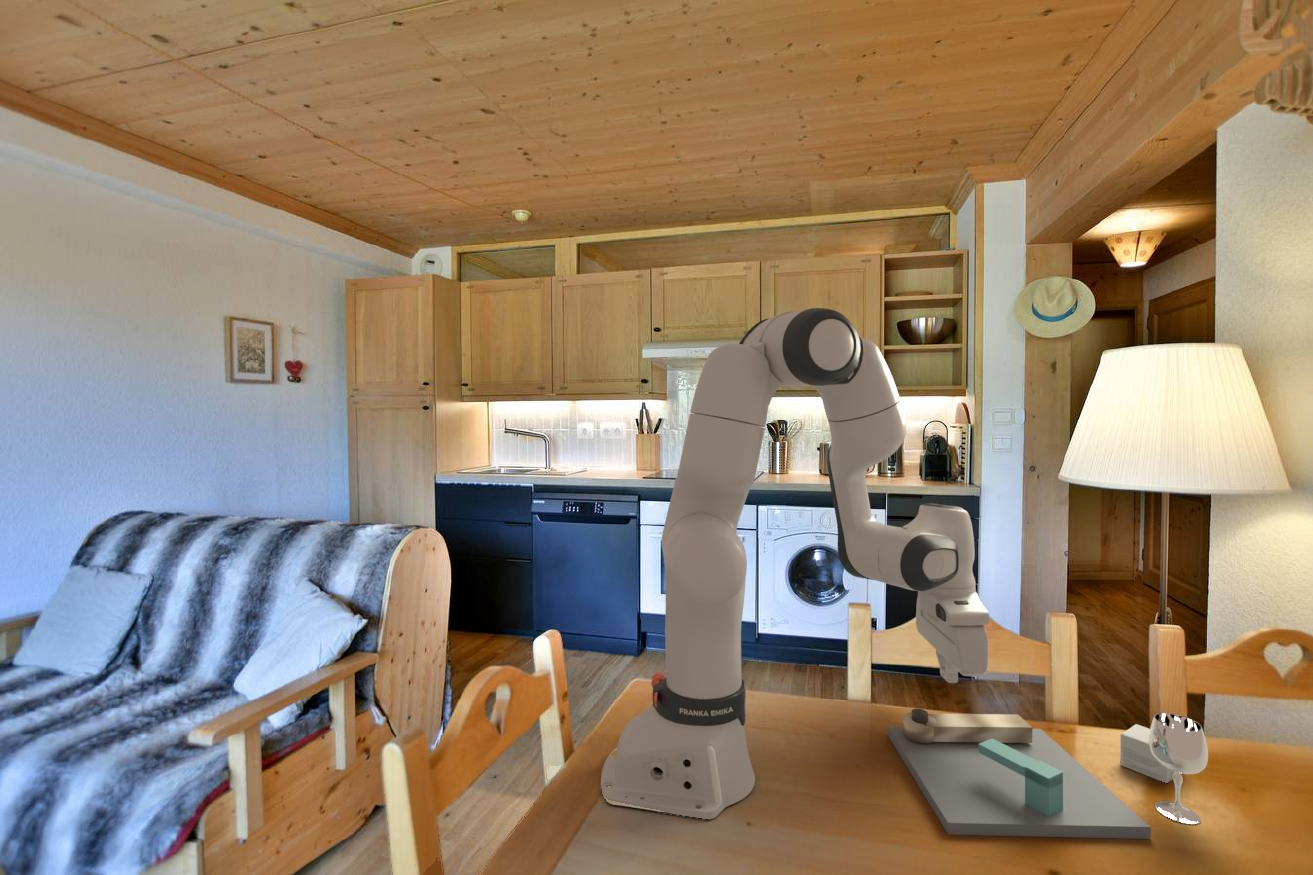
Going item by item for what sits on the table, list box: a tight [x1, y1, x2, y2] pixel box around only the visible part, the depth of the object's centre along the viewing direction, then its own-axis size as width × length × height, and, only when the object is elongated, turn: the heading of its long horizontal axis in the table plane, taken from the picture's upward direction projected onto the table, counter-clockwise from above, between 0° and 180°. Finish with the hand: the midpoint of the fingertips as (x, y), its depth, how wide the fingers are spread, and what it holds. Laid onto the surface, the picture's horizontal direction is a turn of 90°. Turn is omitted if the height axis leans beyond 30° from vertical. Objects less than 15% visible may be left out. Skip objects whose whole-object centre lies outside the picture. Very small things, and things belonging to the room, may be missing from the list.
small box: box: [1119, 723, 1174, 784], centre depth 86 cm, size 6×6×5 cm
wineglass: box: [1149, 712, 1209, 826], centre depth 76 cm, size 6×6×12 cm
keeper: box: [978, 739, 1063, 817], centre depth 79 cm, size 10×3×5 cm, turn 26°
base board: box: [887, 726, 1152, 840], centre depth 84 cm, size 24×23×2 cm
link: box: [903, 708, 1033, 743], centre depth 93 cm, size 18×5×4 cm, turn 86°
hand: (948, 679), depth 100 cm, fingers closed
